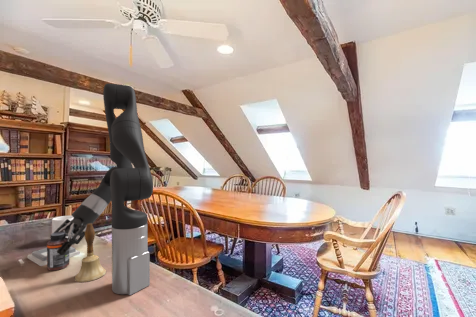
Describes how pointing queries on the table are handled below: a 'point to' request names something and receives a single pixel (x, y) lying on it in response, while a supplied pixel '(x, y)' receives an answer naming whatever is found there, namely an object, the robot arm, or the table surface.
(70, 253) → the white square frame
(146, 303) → the table surface
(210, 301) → the table surface
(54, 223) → the mug
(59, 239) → the supplement bottle
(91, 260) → the hand bell
